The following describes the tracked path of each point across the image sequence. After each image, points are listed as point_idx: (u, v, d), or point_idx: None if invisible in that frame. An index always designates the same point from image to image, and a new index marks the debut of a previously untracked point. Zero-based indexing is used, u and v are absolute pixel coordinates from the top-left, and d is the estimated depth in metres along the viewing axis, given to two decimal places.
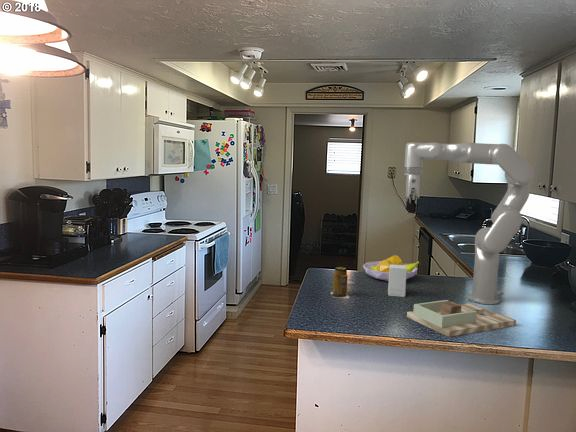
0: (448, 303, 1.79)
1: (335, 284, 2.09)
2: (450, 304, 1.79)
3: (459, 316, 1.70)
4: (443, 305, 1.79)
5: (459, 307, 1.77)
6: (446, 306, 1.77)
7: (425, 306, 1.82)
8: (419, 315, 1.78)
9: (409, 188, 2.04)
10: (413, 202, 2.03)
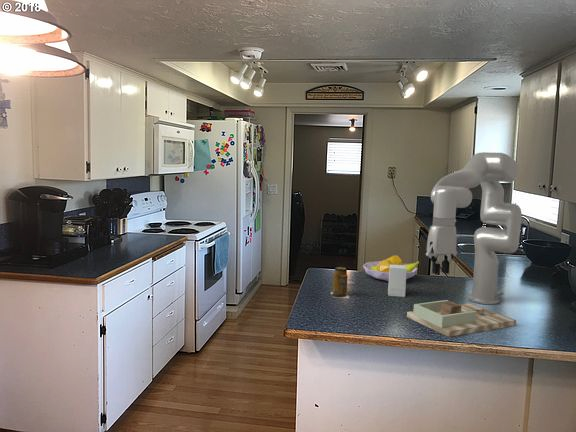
0: (448, 303, 1.79)
1: (335, 284, 2.09)
2: (450, 304, 1.79)
3: (459, 316, 1.70)
4: (443, 305, 1.79)
5: (459, 307, 1.77)
6: (446, 306, 1.77)
7: (425, 306, 1.82)
8: (419, 315, 1.78)
9: None
10: None
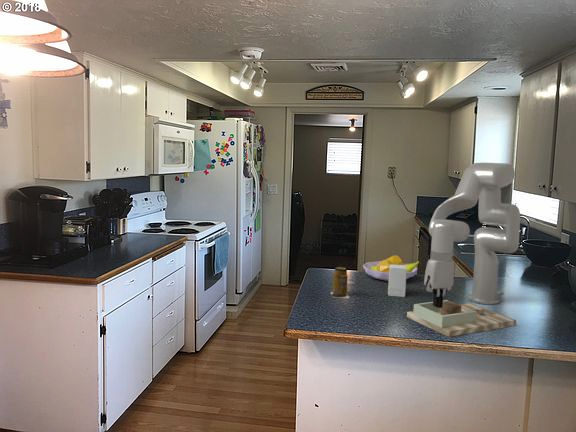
0: (448, 303, 1.79)
1: (335, 284, 2.09)
2: (450, 304, 1.79)
3: (459, 316, 1.70)
4: (443, 305, 1.79)
5: (459, 307, 1.77)
6: (446, 306, 1.77)
7: (425, 306, 1.82)
8: (419, 315, 1.78)
9: None
10: None
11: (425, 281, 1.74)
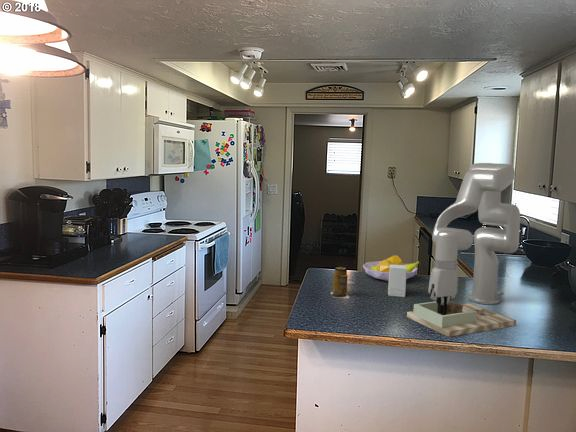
0: (450, 302, 1.79)
1: (335, 284, 2.09)
2: (451, 303, 1.79)
3: (459, 316, 1.70)
4: None
5: (460, 307, 1.77)
6: (448, 305, 1.77)
7: (425, 306, 1.82)
8: (419, 315, 1.78)
9: None
10: None
11: (429, 289, 1.75)
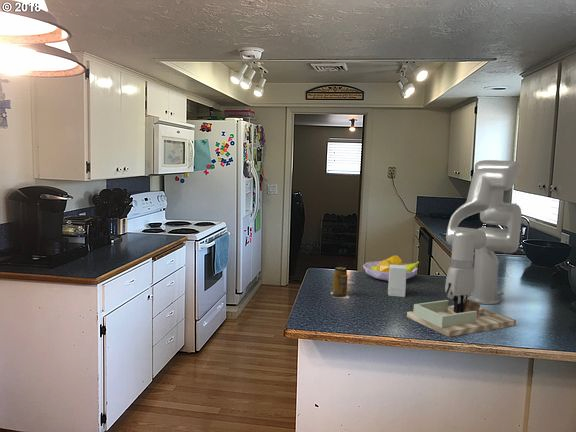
0: None
1: (335, 284, 2.09)
2: None
3: (459, 316, 1.70)
4: None
5: (478, 305, 1.80)
6: (466, 300, 1.80)
7: (425, 306, 1.82)
8: (419, 315, 1.78)
9: None
10: None
11: (446, 288, 1.78)
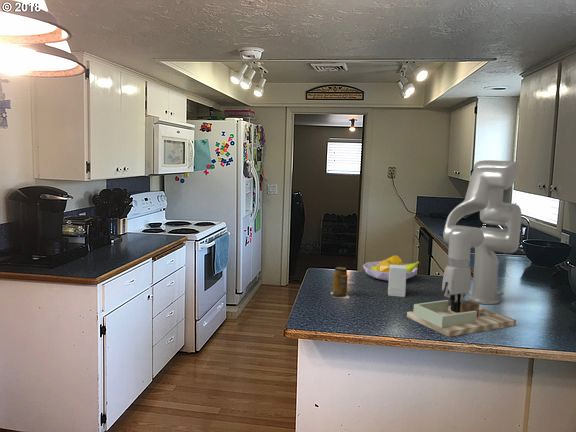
0: (466, 301, 1.82)
1: (335, 284, 2.09)
2: (467, 302, 1.82)
3: (459, 316, 1.70)
4: (461, 303, 1.82)
5: (477, 305, 1.79)
6: (464, 304, 1.80)
7: (425, 306, 1.82)
8: (419, 315, 1.78)
9: None
10: None
11: (443, 287, 1.78)
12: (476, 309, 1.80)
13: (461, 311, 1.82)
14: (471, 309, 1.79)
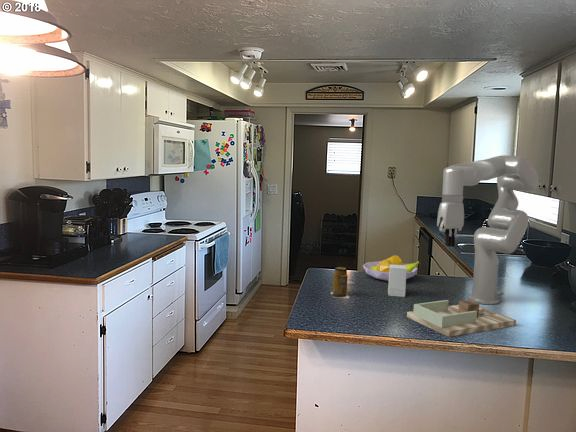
0: (466, 301, 1.82)
1: (335, 284, 2.09)
2: (467, 302, 1.82)
3: (459, 316, 1.70)
4: (461, 303, 1.82)
5: (477, 305, 1.79)
6: (464, 304, 1.80)
7: (425, 306, 1.82)
8: (419, 315, 1.78)
9: None
10: None
11: (438, 223, 1.88)
12: (476, 309, 1.80)
13: (461, 311, 1.82)
14: (471, 309, 1.79)
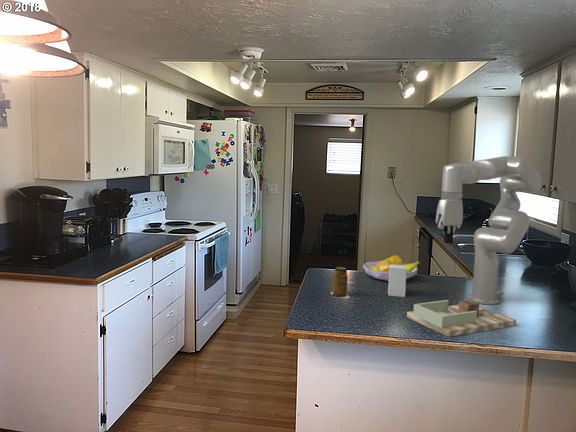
0: (466, 301, 1.82)
1: (335, 284, 2.09)
2: (467, 302, 1.82)
3: (459, 316, 1.70)
4: (461, 303, 1.82)
5: (477, 305, 1.79)
6: (464, 304, 1.80)
7: (425, 306, 1.82)
8: (419, 315, 1.78)
9: None
10: None
11: (437, 219, 1.90)
12: (476, 309, 1.80)
13: (461, 311, 1.82)
14: (471, 309, 1.79)
